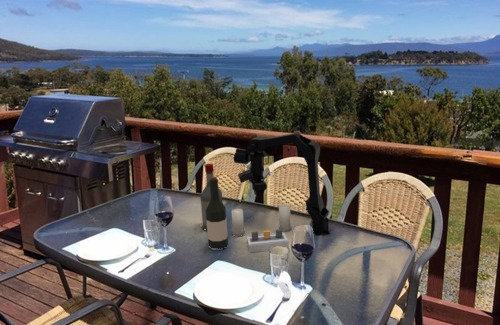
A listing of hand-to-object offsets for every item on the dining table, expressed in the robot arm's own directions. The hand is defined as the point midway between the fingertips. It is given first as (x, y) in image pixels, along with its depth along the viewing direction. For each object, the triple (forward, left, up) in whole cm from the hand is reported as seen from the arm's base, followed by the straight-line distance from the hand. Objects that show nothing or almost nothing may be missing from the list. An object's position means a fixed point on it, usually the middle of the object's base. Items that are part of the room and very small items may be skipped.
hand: (257, 197), depth 194 cm
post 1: (+10, +10, -13) cm, 19 cm away
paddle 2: (-5, +24, -9) cm, 26 cm away
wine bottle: (+20, +20, -13) cm, 31 cm away
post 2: (-11, +10, -13) cm, 19 cm away
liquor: (+21, 0, -13) cm, 24 cm away
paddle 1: (+5, +24, -9) cm, 26 cm away
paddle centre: (0, +24, -9) cm, 26 cm away
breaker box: (0, +24, -13) cm, 27 cm away
